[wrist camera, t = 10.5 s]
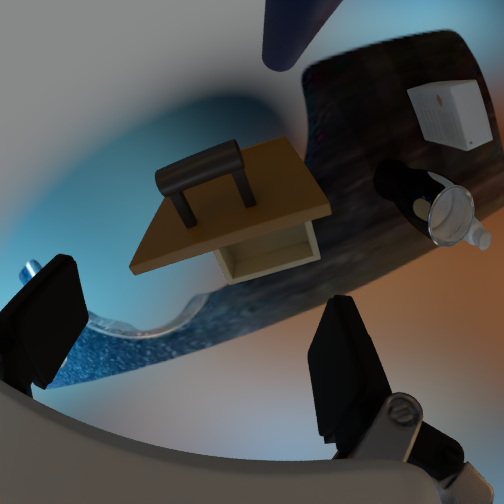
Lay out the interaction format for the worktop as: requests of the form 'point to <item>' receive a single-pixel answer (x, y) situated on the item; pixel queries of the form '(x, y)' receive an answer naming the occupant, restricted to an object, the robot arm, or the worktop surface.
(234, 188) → the cover
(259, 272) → the open cream tray
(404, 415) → the robot arm
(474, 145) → the small box
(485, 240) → the pepper shaker
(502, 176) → the worktop surface
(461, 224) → the beer glass
